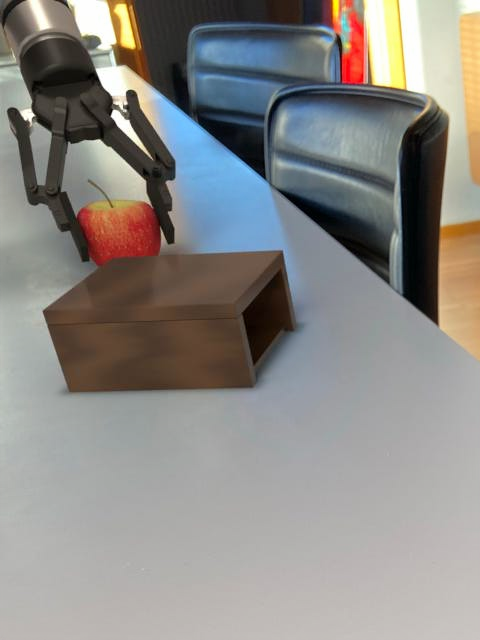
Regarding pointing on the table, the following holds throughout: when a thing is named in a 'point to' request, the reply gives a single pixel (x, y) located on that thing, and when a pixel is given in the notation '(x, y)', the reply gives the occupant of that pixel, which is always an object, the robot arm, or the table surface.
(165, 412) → the table surface
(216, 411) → the table surface
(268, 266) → the shelf
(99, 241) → the apple
